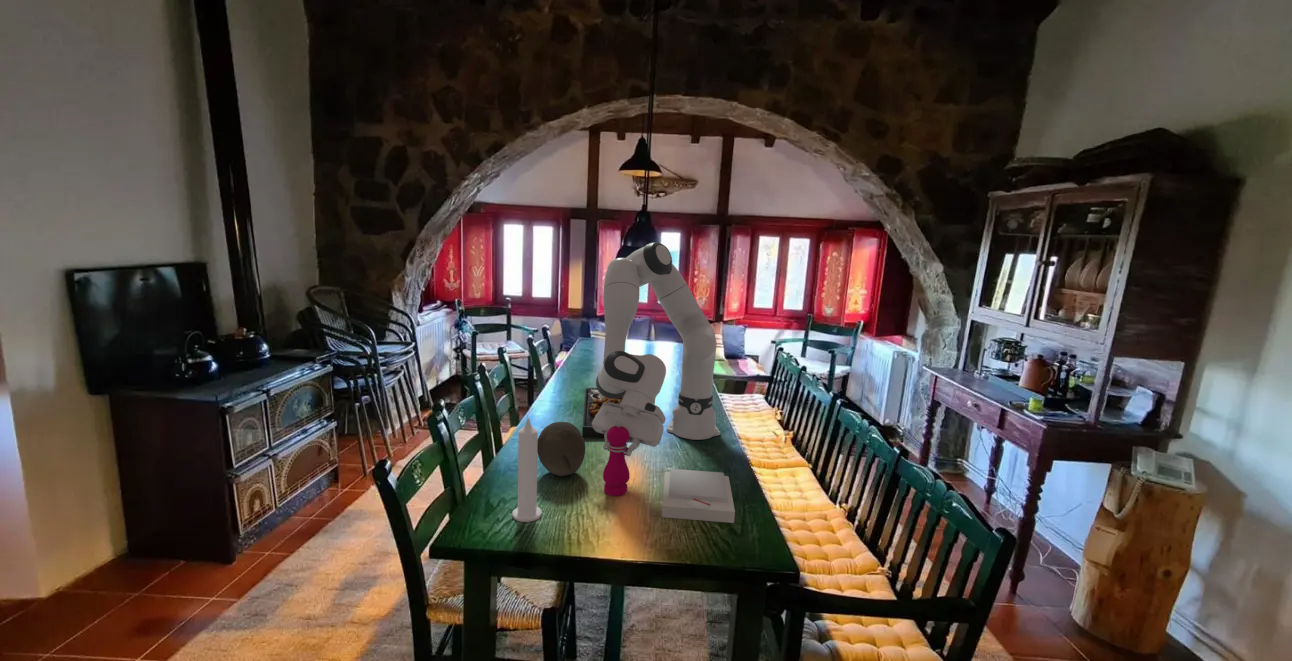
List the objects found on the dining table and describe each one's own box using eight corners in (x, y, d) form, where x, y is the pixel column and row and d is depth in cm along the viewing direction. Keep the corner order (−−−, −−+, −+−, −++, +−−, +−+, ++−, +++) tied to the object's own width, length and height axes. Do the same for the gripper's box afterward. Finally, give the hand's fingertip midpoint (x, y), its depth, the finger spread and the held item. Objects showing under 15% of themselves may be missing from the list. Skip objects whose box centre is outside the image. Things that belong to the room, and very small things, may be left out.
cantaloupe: (592, 467, 165) (593, 419, 162) (573, 488, 152) (574, 436, 149) (548, 460, 169) (549, 412, 166) (526, 479, 155) (527, 428, 152)
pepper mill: (614, 482, 156) (617, 414, 153) (634, 490, 152) (637, 421, 148) (596, 490, 151) (599, 420, 147) (616, 499, 146) (619, 427, 143)
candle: (512, 523, 132) (513, 423, 128) (511, 508, 139) (512, 413, 134) (542, 520, 134) (544, 422, 130) (540, 506, 141) (542, 412, 136)
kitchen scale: (664, 481, 158) (665, 467, 158) (727, 486, 157) (728, 472, 157) (661, 517, 139) (662, 502, 138) (734, 523, 138) (735, 507, 137)
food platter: (585, 398, 232) (585, 374, 230) (643, 399, 234) (645, 376, 232) (582, 439, 188) (583, 410, 186) (654, 440, 190) (656, 411, 188)
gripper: (600, 395, 158) (579, 438, 151) (664, 409, 148) (645, 456, 142) (608, 406, 162) (588, 448, 156) (671, 420, 153) (652, 466, 146)
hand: (616, 452), depth 149 cm, fingers closed on pepper mill, 5 cm apart
